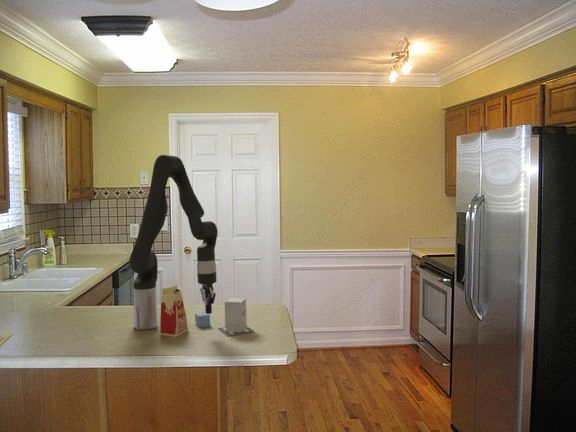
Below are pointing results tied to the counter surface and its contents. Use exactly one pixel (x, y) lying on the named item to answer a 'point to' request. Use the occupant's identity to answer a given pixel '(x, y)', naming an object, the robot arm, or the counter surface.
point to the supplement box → (235, 315)
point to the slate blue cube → (202, 319)
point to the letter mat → (246, 330)
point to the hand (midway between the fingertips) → (208, 313)
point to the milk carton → (172, 313)
